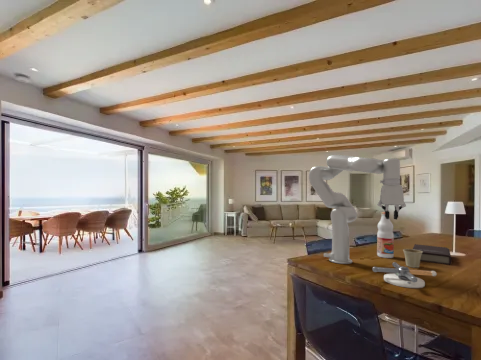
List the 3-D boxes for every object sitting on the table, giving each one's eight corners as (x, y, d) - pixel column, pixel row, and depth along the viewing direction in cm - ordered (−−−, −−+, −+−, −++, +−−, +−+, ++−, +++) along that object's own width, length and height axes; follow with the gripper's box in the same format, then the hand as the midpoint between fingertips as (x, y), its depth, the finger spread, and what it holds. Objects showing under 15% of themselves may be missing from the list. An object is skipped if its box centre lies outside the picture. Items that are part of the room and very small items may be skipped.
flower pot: (425, 269, 151) (425, 253, 151) (406, 268, 153) (406, 251, 153) (418, 264, 160) (418, 249, 160) (400, 263, 162) (400, 248, 162)
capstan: (380, 284, 118) (380, 273, 118) (365, 268, 144) (365, 258, 144) (451, 290, 113) (451, 278, 113) (423, 272, 138) (423, 262, 139)
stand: (389, 286, 122) (389, 281, 122) (379, 275, 138) (379, 271, 138) (431, 289, 119) (431, 285, 119) (416, 278, 134) (416, 274, 134)
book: (451, 266, 161) (451, 255, 161) (411, 260, 172) (411, 250, 172) (449, 257, 184) (449, 247, 184) (414, 252, 195) (414, 244, 195)
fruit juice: (383, 254, 186) (383, 211, 187) (397, 257, 178) (396, 212, 179) (373, 255, 181) (374, 211, 182) (387, 258, 173) (387, 213, 174)
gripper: (376, 182, 142) (376, 219, 141) (412, 182, 138) (412, 220, 138) (372, 182, 149) (372, 217, 148) (406, 183, 146) (406, 219, 145)
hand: (391, 218), depth 143 cm, fingers open, 3 cm apart
